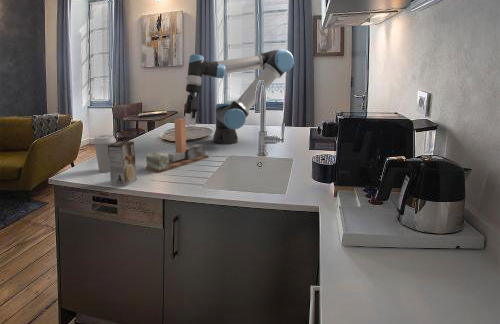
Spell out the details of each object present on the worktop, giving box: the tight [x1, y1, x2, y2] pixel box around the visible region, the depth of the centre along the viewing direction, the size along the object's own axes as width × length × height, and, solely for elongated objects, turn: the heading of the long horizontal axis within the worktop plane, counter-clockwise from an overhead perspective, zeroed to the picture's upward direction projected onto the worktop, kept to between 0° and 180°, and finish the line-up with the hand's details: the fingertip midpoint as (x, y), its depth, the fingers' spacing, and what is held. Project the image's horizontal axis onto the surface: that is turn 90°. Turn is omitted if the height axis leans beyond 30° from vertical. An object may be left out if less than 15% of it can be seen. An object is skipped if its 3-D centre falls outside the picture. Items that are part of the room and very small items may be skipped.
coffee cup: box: [92, 134, 117, 173], centre depth 164 cm, size 10×10×15 cm
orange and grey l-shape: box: [167, 117, 187, 162], centre depth 179 cm, size 20×4×19 cm, turn 146°
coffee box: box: [108, 140, 138, 187], centre depth 148 cm, size 9×6×16 cm
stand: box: [145, 143, 210, 174], centre depth 178 cm, size 33×9×7 cm, turn 146°
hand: (189, 125), depth 198 cm, fingers open, 13 cm apart
